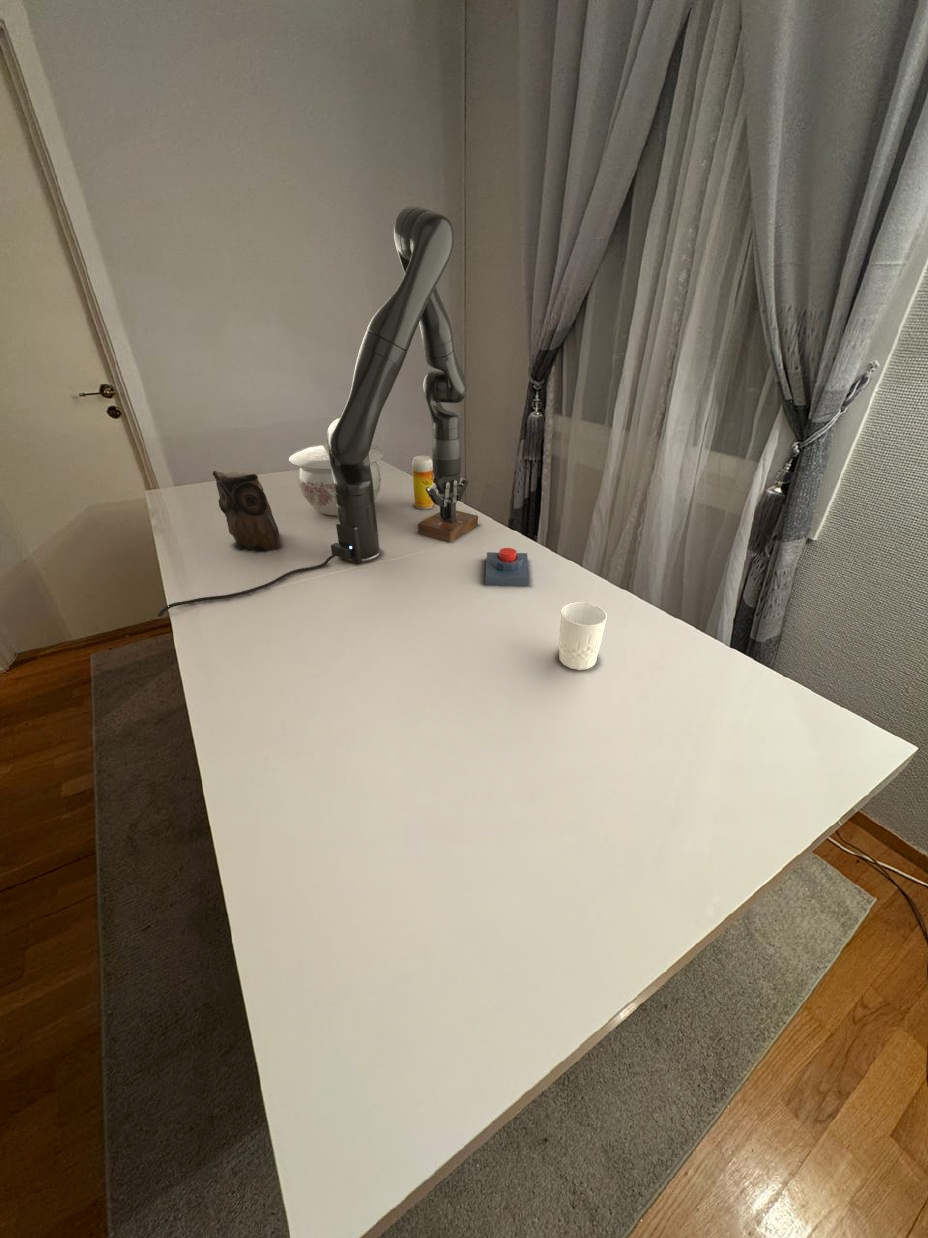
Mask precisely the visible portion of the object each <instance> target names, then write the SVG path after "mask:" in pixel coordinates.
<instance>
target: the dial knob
mask: <svg viewBox="0 0 928 1238" xmlns="http://www.w3.org/2000/svg"><path fill="white" fill-rule="evenodd" d="M447 506H448V519H445V520H448V521H450V522H454V521H456V511H457V502H454V501H452V500H449V499H448V505H447ZM441 518H442V517H441Z"/></svg>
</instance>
